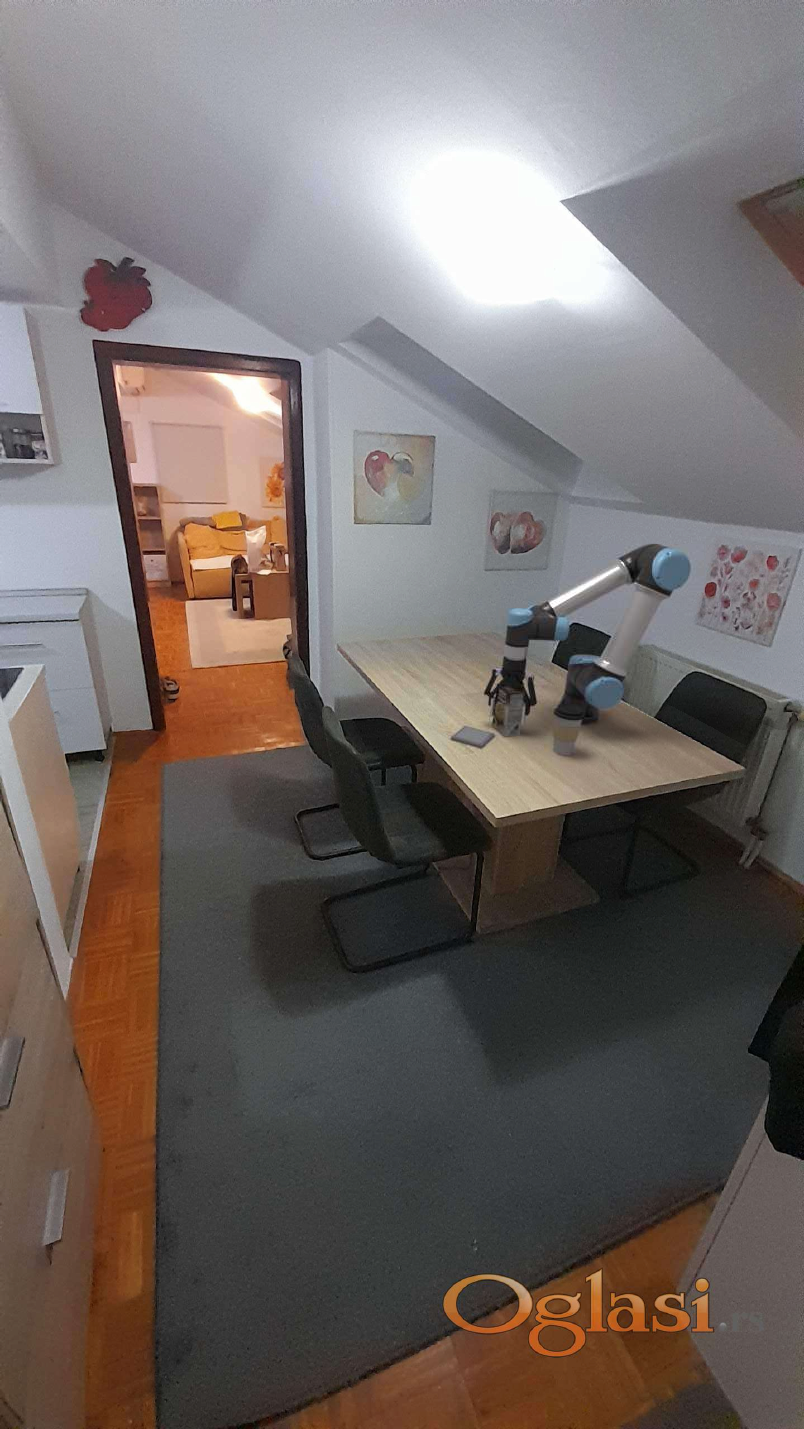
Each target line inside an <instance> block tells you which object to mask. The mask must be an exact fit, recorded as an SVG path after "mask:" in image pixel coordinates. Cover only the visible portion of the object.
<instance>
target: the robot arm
mask: <svg viewBox="0 0 804 1429" xmlns="http://www.w3.org/2000/svg"><path fill="white" fill-rule="evenodd" d="M691 565H692V564H691V562H690V560H689V558H688V556H687V554H685V553H684V552H682V551H681V550H679V549H677V548H673V547H669V546H665V545H662V544H658V543H649V544H644V545H642V546H639V547H637V548H635V549H633V550H631V551H629V552H627V553H626V554H624V555H622V556H620V557H619V558H617V559H615V561H614V564H612V565H610V566H608V567H607V568H605V569H602V570H601V571H599V572H598V573H596V574H594V575H592V576H590V577H589V578H587V579H585V580H583V581H581V582H579V583H578V584H576V585H574V586H572V587H571V588H568V589H567V590H565V591H563V592H562V593H560V594H558V595H556V596H554V597H552V598H551V599H549V600H547V601H544V602H543V603H541V604H532V605H530V606H528V607H527V608H519V607H517V608H513V609H511V610H510V611H509V613H508V617H507V621H506V622H507V623H506V633H505V642H504V650H503V659H502V667H501V669H499V668H498V667H495V668H493V669H492V670H491V677H490V679H489V681H488V683H487V685H486V687H485V689H484V690H483V695H484V696H488V703H487V704H488V706H487V707H490V708H489V717H493V714H494V706H495V697H496V692H497V691H498V690H499V688H500V686H502V685H504V684H505V683H506V684H512V685H514V686H515V685H516V686H517V688H518V689H519V691H522V692H524V691H526V695H525V694H524V695H523V701H524V703H525V704H524V706H523V711H522V718H521V726H522V725H524V724H526V722H527V717H528V716H529V715H530V714H531V708H532V707H535V706H536V704H538V700H537V696H536V695H537V694H536V690H535V685H534V681H535V676H534V675H527V674H526V668H527V657H528V653H529V652H528V651H529V647H530V646H529V645H530V641H552V642H553V641H554V642H556V641H558V642H559V641H565V640H566V639H567V638H568V635H569V632H570V622H569V620H568V618H567V616H569V615H571V614H572V613H574V612H577V611H578V610H579V609H581V608H583V607H586V606H587V605H589V604H591V603H592V602H594V601H597V600H598V599H600V598H602V597H603V596H605V595H607V594H609V593H611V592H614V591H615V590H617V589H618V588H620V587H623V586H625V585H627V586H630V585H632V584H633V585H634V587H635V591H634V593H633V595H632V597H631V599H630V600H629V603H628V604H627V606H626V608H625V610H624V612H623V613H622V616H621V618H620V619H619V621H618V623H617V624H616V626H615V629H614V631H613V632H612V635H611V637H610V638H609V641H608V642H607V644H606V646H605V648H604V649H603V652H602V654H600V656H598V655H593V654H574V655H572V656H571V657H570V659H569V662H568V664H567V665H568V667H567V674H566V679H565V686H564V692H563V695H562V697H561V699H560V701H559V702H558V704H557V706H558V705H560V704H573V705H576V706H579V707H581V708H582V709H583V712H584V714H585V715H584V716H585V718H584V719H582V722H581V725H591V724H594V723H597V722H598V721H599V718H600V709H603V710H604V709H609V708H612V707H614V706H616V705H617V704H618V703H619V702H620V701H621V699H622V698H623V696H624V685H623V684H624V681H625V679H626V677H627V675H628V674H627V672H626V667H627V665H628V664H629V662H630V660H631V658H632V656H633V655H634V653H635V651H636V649H637V647H638V645H639V643H640V642H641V640H642V638H643V636H644V634H645V632H646V631H647V629H648V627H649V626H650V624H651V622H652V620H653V618H654V616H655V615H656V613H657V610H658V609H659V607H660V605H661V603H662V602H663V601H664V600H666V599H669V598H671V596H672V594H673V593H674V591H675V590H677V589H679V588H681V587H683V586H684V585H685V584H686V582H687V581H688V579H689V578H690V575H691V571H692V570H691V569H692V567H691ZM499 675H501V677H502V678H501V681H499V682H498V683H499V684H498V683H497V684H498V685H497V684H496V686H495V687H494V689H492V688H493V686H494V685H495V682H496V680H497V678H498V676H499ZM524 679H525V681H526V683H527V689H526V687H525V683H524ZM527 690H528V691H527Z"/></svg>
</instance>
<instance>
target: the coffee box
mask: <svg viewBox="0 0 804 1429" xmlns="http://www.w3.org/2000/svg"><path fill="white" fill-rule="evenodd" d="M499 683H500V682H498V683H496V686H497V685H498V684H499ZM526 691H527V690H526ZM526 691H524V692H522V691H519V689H518V688H517V686H516V685H515V686H514V685H512V684H506V683H505V684H504V685H502V686H500V688H499V690H498V691H497V692H496V694H495V706H494V714H493V716H492V717H493V718H492V724H491V726H492V728H493V729H495V730H496V731H497V732H498V733H499V734H500V735H502V736H503V737H504V738H509V737H514V736H515V737H516V736H520V735H521V730H522V724H521V718H522V711H523V706H524V705H525V703H524V701H523V695H524V694H525V695H526Z"/></svg>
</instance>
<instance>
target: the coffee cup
mask: <svg viewBox="0 0 804 1429" xmlns="http://www.w3.org/2000/svg"><path fill="white" fill-rule="evenodd" d="M553 715H554V720H553V744H552V745H553V749H552V750H553V752H554V753H555V754H557V755H561V756H571V755H572V754H573V751H574V748H575V745H576V742H577V740H578V736H579V732H580V730H581V726H582V724H581V722H582V719H584V718H585V716H584V715H585V714H584V712H583V709H582V708H581V707H579V706H576V705H573V704H560V705H558V704H557V707H556V708H554V711H553Z"/></svg>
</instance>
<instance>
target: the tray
mask: <svg viewBox="0 0 804 1429" xmlns="http://www.w3.org/2000/svg"><path fill="white" fill-rule="evenodd" d="M494 738H495V733H493V732H489V731H486V730H483V729H478V728H476V727H475V728H474V727H471V726H467V725H464V726H463V727H461V728H460V729H459V730H458V731H456V732H455V733H454V734H453V735H452V736H450V740H451V741H453V742H456V743H461V744H465V745H468V746H470V747H475V748H479V749H483V748H484V747H485V746H486V745H488V743H489V742H490V741H491V740H493V739H494Z"/></svg>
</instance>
